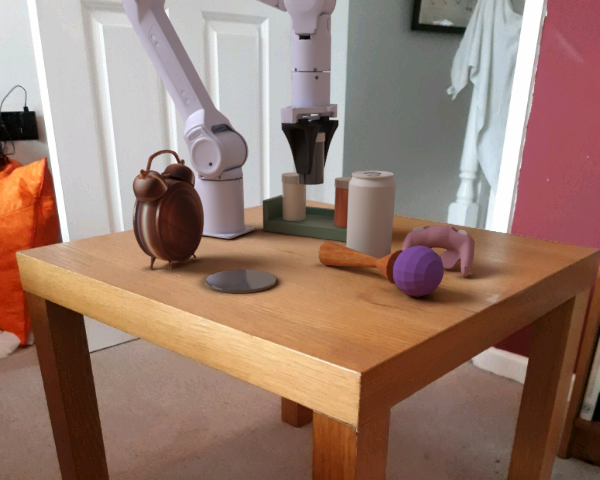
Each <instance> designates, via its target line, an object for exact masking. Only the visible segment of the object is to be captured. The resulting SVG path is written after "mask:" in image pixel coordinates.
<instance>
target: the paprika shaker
mask: <svg viewBox="0 0 600 480" xmlns="http://www.w3.org/2000/svg"><path fill="white" fill-rule="evenodd" d="M352 177H353V176H339V177H336V178H334V204H333V205H334V208H333V209H334V225H335V226H337V227H344V228H347V218H348V192H349V182H350V180H351V179H352Z"/></svg>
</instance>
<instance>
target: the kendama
mask: <svg viewBox="0 0 600 480" xmlns="http://www.w3.org/2000/svg"><path fill="white" fill-rule="evenodd" d="M440 257H441V255H439V254H438V252H436V251H435V250H434V248H428V247H425V246H419V245H418V246H413V247H410V248H408V249H405V250H404V251H403V250H401V249H399V250H395V251H393V252H391V254H389V255H387V256H385V257H382V258H380V259H378V258H375V257H372V256H370V255H367V254H364V253H361V252H359V251H356V250H353V249H350V248H348V247H346V246H344V245H342V244H339V243H337V242H334V241H332V240H326V241H324V242H322V243H321V245H320V247H319V249H318V259H319V261H320V263H321V264H322V265H325V266H335V267H355V268H372V269H373V268H374V269H375V268H376V269H378V270H379V272H380V273H382V275H383V276H384V277H385V278H386V279H387V281H389V282H390V284H393V285H395V286H396V287H397V288H398V289H399V290H400V291H401V292H402V293H403V294H404V295H408V296H411V297H416V298H420V297H423V296H426V295H430V294H432V293H433V292H434V291H436V290H437V288H438V287H439V286H440V284H441V282H442V281H443V278H444V272H445V269H444V268H443V264H442V260H441V258H440Z"/></svg>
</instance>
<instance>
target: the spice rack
mask: <svg viewBox="0 0 600 480" xmlns="http://www.w3.org/2000/svg"><path fill="white" fill-rule="evenodd" d="M262 231H264V232H271V233H278V234H286V235H293V236H301V237H309V238H317V239H324V240H329V241H340V242H344V243H345V242H346V243H347V228H344V227H337V226H335V225H334V208H328V207H320V206H319V207H318V206H312V205H311V206H310V205H306V219H305V220H302V221H287V220H284V219H283V218H282V194H279V195H276V196H273V197H269V198H266V199H263V200H262Z"/></svg>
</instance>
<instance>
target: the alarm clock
mask: <svg viewBox="0 0 600 480" xmlns="http://www.w3.org/2000/svg"><path fill="white" fill-rule="evenodd" d="M163 154H171V155H173V156H174V158H175V161H176V162H177V163H176V162H175V163H171V164H169V165H167V166H166V167H165V169H164V171H162V172H161V173H160V172H159V171H156V170H151V167H152V163H153V161H154V159H156V157H158V156H161V155H163ZM147 159H148V160H147V164H146V168H145V169H144V168H141V169H140V171H139V173H138V174H137V175H136V176H135V178H134V179H133V181H132V190H133V194H134V197H135V202H134V205H133V211H132V229H133V233H134V234H133V235H134V238H135V241H136V242H137V245H138V247H139V248H140V249H141V251H142V252H143V253H144V254H145V255H146V256H148V257H150V265H149V269H150V270H153V269H154V264H155V262H156V260H160V261H164V262H167V263H168V265H167V269H169V270H170V269H172V262H179V263H181V262H185V261H187V260H189V259H191V258H193V259H197V255H196V254H195V253H196V252H197V250H198V249H199V246H200V244H201V241H202V237H203V235H202V234H203V228H204V212H203V206H202V202H201V199H200V196H199V194H198V192H197V191H196V190H195V188H194V187H195V175H196V174H195V173H194V171H193V170H192V169H191V168H190V167H189V166H187V165H185V163H186V162H185V159H183V158H182V159H180V157H179V155H178V153H177V152H176V151H174V150H171V149H162V150H158V151H155V152H154V153H153V154H151V155H149V157H148V158H147Z"/></svg>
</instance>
